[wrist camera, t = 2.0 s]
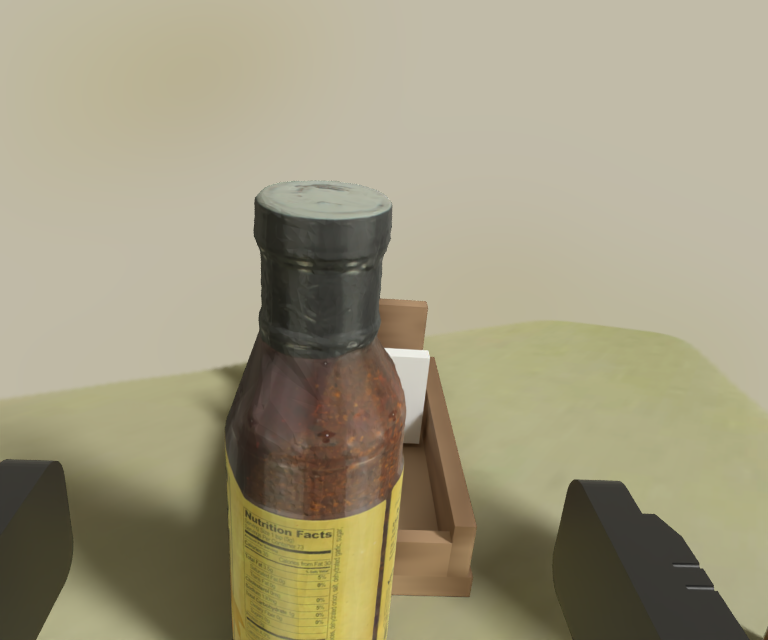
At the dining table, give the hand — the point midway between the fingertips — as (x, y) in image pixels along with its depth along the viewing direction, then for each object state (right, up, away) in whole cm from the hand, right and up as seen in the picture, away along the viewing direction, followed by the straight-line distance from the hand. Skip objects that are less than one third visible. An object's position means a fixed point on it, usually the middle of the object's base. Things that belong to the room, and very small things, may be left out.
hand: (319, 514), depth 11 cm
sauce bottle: (-2, -11, +17) cm, 21 cm away
